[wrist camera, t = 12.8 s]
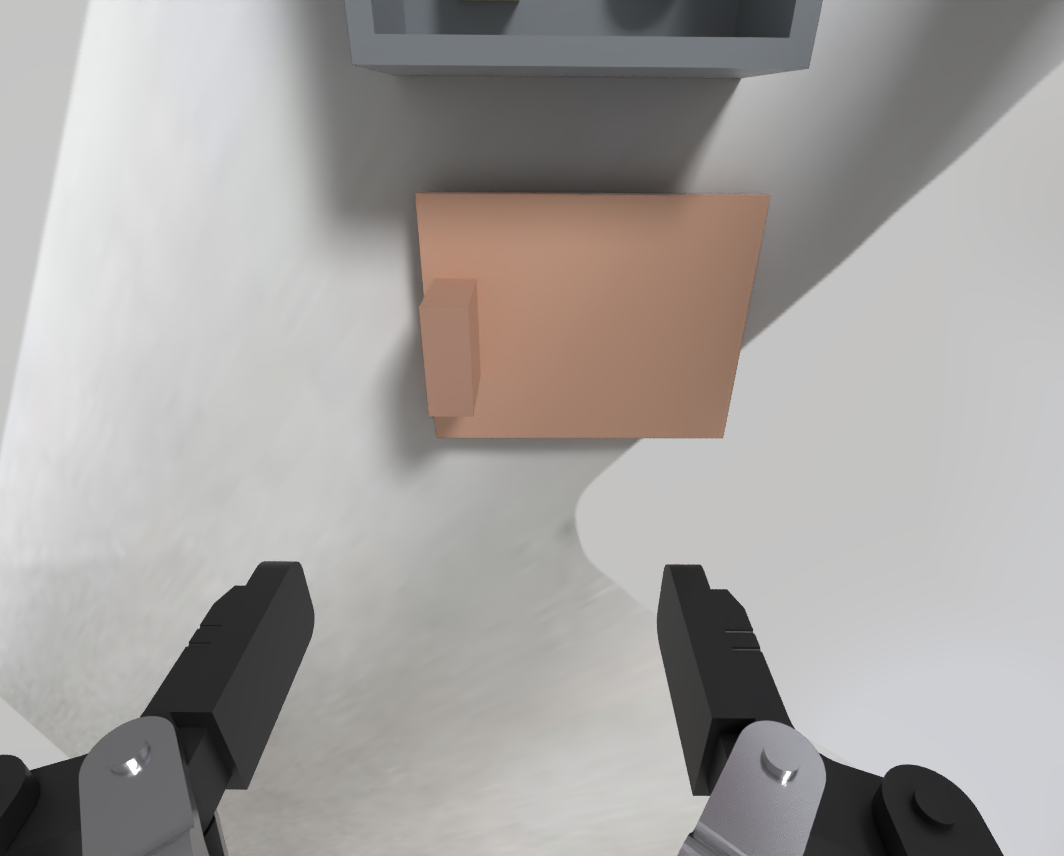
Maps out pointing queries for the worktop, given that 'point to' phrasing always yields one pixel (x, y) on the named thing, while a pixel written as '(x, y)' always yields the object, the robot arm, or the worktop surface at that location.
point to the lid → (584, 311)
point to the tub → (583, 37)
